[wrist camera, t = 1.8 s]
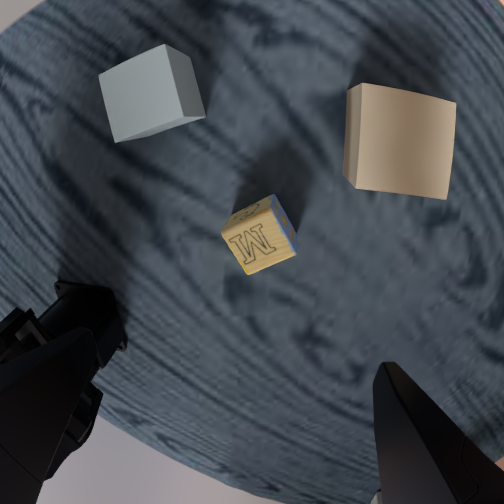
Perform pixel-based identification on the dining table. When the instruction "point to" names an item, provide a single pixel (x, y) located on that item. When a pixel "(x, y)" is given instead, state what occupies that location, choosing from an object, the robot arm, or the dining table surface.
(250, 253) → the alphabet block
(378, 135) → the beech block
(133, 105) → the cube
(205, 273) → the dining table surface
